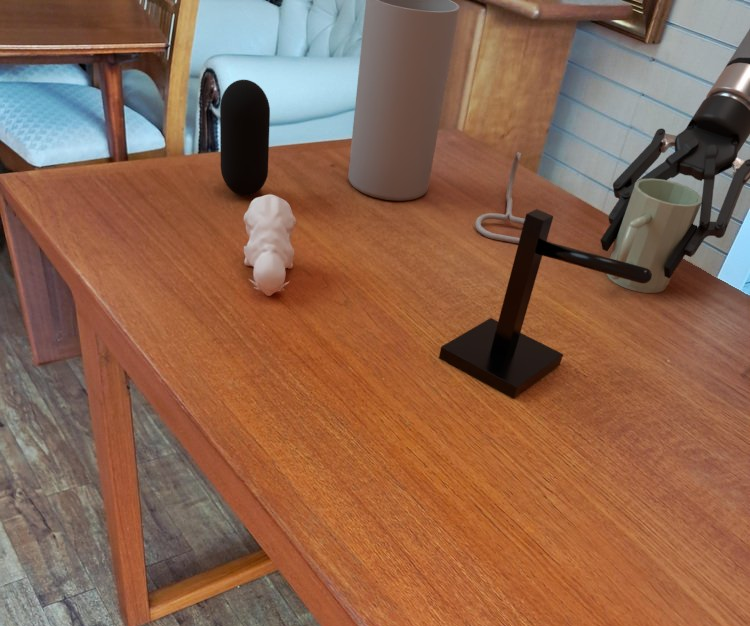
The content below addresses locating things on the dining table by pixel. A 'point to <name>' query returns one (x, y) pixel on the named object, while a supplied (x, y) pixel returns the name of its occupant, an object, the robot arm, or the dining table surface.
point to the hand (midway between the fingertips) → (634, 258)
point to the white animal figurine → (269, 242)
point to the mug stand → (503, 338)
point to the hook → (508, 213)
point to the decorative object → (244, 137)
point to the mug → (653, 229)
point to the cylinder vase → (400, 95)
